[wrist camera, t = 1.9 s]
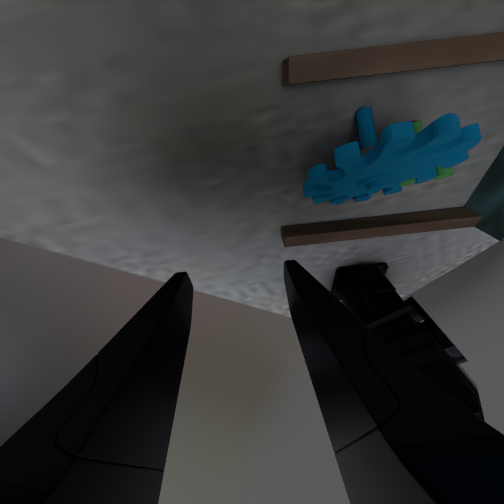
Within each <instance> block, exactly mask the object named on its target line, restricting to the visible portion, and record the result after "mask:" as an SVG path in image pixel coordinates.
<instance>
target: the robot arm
mask: <svg viewBox="0 0 504 504" xmlns="http://www.w3.org/2000/svg"><path fill="white" fill-rule="evenodd" d="M388 267H389V266H388V265H387V264H386V263H378V264H368V265H359V266H350V267H341V268H338V269H337V271H336V275H335V278H334V282H333V286H332V290H331V293H330V292H329V291H328V290H327V289H326V288H325V287H324V286H323V285H322V284H321V283H320V282H318V281H317V280H316V279H315V278H314V277H313V276H312V275H311V274H310V273H309V272H308V271H306V270H305V269H304V268H303V267H302V266H301V265H300V264H299V263H298V262H297V261H295V260H288V261H285V262H284V282H285V287H286V292H287V298H288V303H289V308H290V313H291V317H292V320H293V324H294V327H295V330H296V333H297V336H298V340H299V343H300V346H301V349H302V352H303V355H304V359H305V362H306V365H307V368H308V371H309V374H310V377H311V380H312V384H313V387H314V390H315V393H316V396H317V400H318V403H319V406H320V409H321V412H322V415H323V418H324V422H325V425H326V428H327V431H328V434H329V437H330V441H331V444H332V447H333V450H334V452H335V456H336V460H337V463H338V466H339V469H340V472H341V476H342V479H343V482H344V485H345V488H346V491H347V494H348V497H349V501H350V504H504V435H503V434H502V433H500V432H499V431H497V430H496V429H494V428H493V427H492V426H490V425H489V424H487V423H486V422H485V421H484V416H483V411H482V407H481V402H480V398H479V394H478V389H477V386H476V384H475V383H474V382H473V380H472V379H471V378H470V377H469V375H468V374H467V373H466V372H465V371H464V370H463V368H462V367H461V366H460V365H459V364H461V363H464V362H467V359H466V358H465V357H464V356H463V355H462V353H461V352H460V351H459V350H458V349H457V348H456V346H455V345H454V344H453V343H452V342H451V341H450V340H449V338H448V337H447V336H446V335H445V334H444V332H443V331H442V330H441V329H440V328H439V327H438V326H437V324H436V323H435V322H434V321H433V320H432V318H431V317H430V316H429V315H428V314H427V313H426V312H425V311H424V309H423V308H422V307H421V306H420V305H419V304H418V303H417V302H416V301H415V299H414V298H413V297H412V296H411V297H409V298H407V300H405V301H403V300H402V298H401V297H400V296H399V295H398V293H397V292H396V289H395V287H394V286H393V285H392V284H391V282H390V281H389V280H388V279H387V278H386V276H385V273H386V271H387V269H388ZM339 300H342V302H343V304H342V303H341V302H340V301H339ZM192 301H193V285H192V283H191V280H190V278H189V276H188V274H187V272H178V273H175V274H174V275H173V276H172V277H171V278H170V279H169V280H168V281H167V282H166V283H165V284H164V285H163V286H162V287H161V288H160V289H159V291H157V293H155V295H154V296H153V297H152V298H151V299H150V300H149V301H148V302H147V303H146V304H145V305H144V306H143V307H142V308H141V309H140V310H139V311H138V312H137V313H136V314H135V315H134V316H133V317H132V318H131V319H130V320H129V321H128V322H127V323H126V324H125V326H124V327H123V328H122V329H121V330H120V331H119V332H118V333H117V334H116V335H115V336H114V337H113V338H112V339H111V340H110V341H109V342H108V343H107V344H106V345H105V346H104V347H103V348H102V349H101V350H100V351H99V353H98V355H96V356H94V357H93V359H92V360H91V361H90V362H89V363H88V364H87V365H86V366H85V367H84V368H83V369H82V370H81V371H80V372H79V373H78V374H77V375H76V376H75V377H74V378H73V379H72V380H71V381H70V382H69V383H68V384H67V385H66V386H65V387H64V388H63V389H62V390H61V391H60V392H58V393H57V394H56V395H55V396H54V397H53V398H52V399H51V400H50V401H49V402H48V403H47V404H46V405H45V406H44V407H43V408H42V409H41V410H39V411H38V412H37V413H36V414H35V415H34V416H33V417H32V418H31V419H30V420H29V421H27V422H26V423H25V424H24V425H23V426H22V427H21V428H20V429H19V430H18V431H17V432H16V433H15V434H13V435H12V436H11V437H10V438H9V439H8V440H7V441H6V442H5V443H4V444H3V445H1V447H0V504H158V501H159V496H160V490H161V485H162V479H163V474H164V467H165V463H166V457H167V452H168V446H169V441H170V436H171V430H172V425H173V420H174V414H175V409H176V403H177V397H178V393H179V387H180V382H181V376H182V371H183V366H184V360H185V355H186V350H187V344H188V339H189V334H190V327H191V317H192ZM422 320H424V322H422V323H421V322H420V321H422Z"/></svg>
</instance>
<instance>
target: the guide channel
mask: <svg viewBox="0 0 504 504" xmlns="http://www.w3.org/2000/svg"><path fill="white" fill-rule="evenodd" d="M500 60H504V32H499V33H490V34H482V35H473V36H464V37H456V38H447V39H438V40H430V41H421V42H412V43H404V44H395V45H386V46H377V47H369V48H360V49H351V50H343V51H334V52H325V53H317V54H308V55H299V56H291V57H288V58H287V59H285V60H284V61H283V85H289V84H298V83H307V82H316V81H324V80H333V79H342V78H351V77H359V76H368V75H377V74H386V73H394V72H403V71H412V70H421V69H429V68H438V67H447V66H456V65H464V64H473V63H482V62H491V61H500ZM465 227H476V228H478V229H480V230H481V231H483V232H485V233H487V234H489V235H490V236H492V237H494V238H496V239H497V240H499V241H504V148H503V149H502V151H501V152H500V154H499V155H498V157H497V158H496V160H495V161H494V163H493V164H492V166H491V167H490V169H489V170H488V172H487V173H486V175H485V176H484V178H483V179H482V181H481V182H480V184H479V185H478V187H477V188H476V190H475V191H474V193H473V195H472V196H471V198H470V199H469V201H468V202H467V204H466V205H465V207H458V208H449V209H439V210H430V211H421V212H412V213H403V214H394V215H384V216H375V217H366V218H357V219H348V220H339V221H329V222H320V223H311V224H302V225H293V226H284V227H281V237H282V240H283V243H284V247H290V246H299V245H308V244H317V243H327V242H336V241H345V240H354V239H363V238H373V237H382V236H391V235H400V234H410V233H419V232H428V231H437V230H447V229H456V228H465Z"/></svg>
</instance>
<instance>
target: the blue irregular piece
mask: <svg viewBox="0 0 504 504" xmlns="http://www.w3.org/2000/svg"><path fill="white" fill-rule="evenodd" d="M356 119H357V125H358V131H359V138H360V144H361V151H360V148H359V143H358V142H357V141H354V142H350V143H348V144H345V145H343V146H340V147H338V148H336V149H335V150H334V158H335V164H336V167H338V168H339V169H337V170H334V171H328V170H327V165H325V164H318V165H316V166H314V167H312V168H311V169H310V170H309V171H307V177H308V181H306V182H305V183H304V185H303V191H304V197H311V196H312V198H313V202H314V203H321V202H324V201H326V200H329V201H330V204H341V203H343V202H344V201H346V200H348V199H350V198H352V197H354V202H358V201H365V200H368V199H370V197H371V195H373V194H374V193H376V192H378V191H380V190H382V189H383V194H384V195H388V194H392V193H396V192H400V191H401V190H402V188H401V186H405V185H409V184H411V183H415V184H418V183H422V182H425V181H428V180H430V179H433V178H434V179H435V180H438V179H443V178H446V177H449V176H451V175H453V169H452V167H453V166H455V165H457V164H459V163H461V162H463V161H465V160H466V159H468V158H469V155H468V151H467V150H469V149H471V148H473V147H474V146H476V145H477V144H478V143H479V141H480V139H481V134H480V130H479V126H478V123H476V124H471V125H468V126H465V127H463V128H461V126H460V122H459V117H458V116H457V115H455V114H452V113H448V114H446V115H444V116H442V117H440V118H438V119H436V120H435V121H433V122H432V123H431V124H430V125H428V126H427V127H426V128H425V129H423V130H422V127H421V122H420V121H416V122H413V123H412V122H409V121H408V122H399V123H394V124H390V125H388V126H387V127H386V128H384V129H383V131H382V132H381V137H380V139H379V141H378V143H377V137H376V132H375V126H374V120H373V114H372V108H371V107H364V108H362V109H360V110H359V111H358V112H357V114H356Z"/></svg>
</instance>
